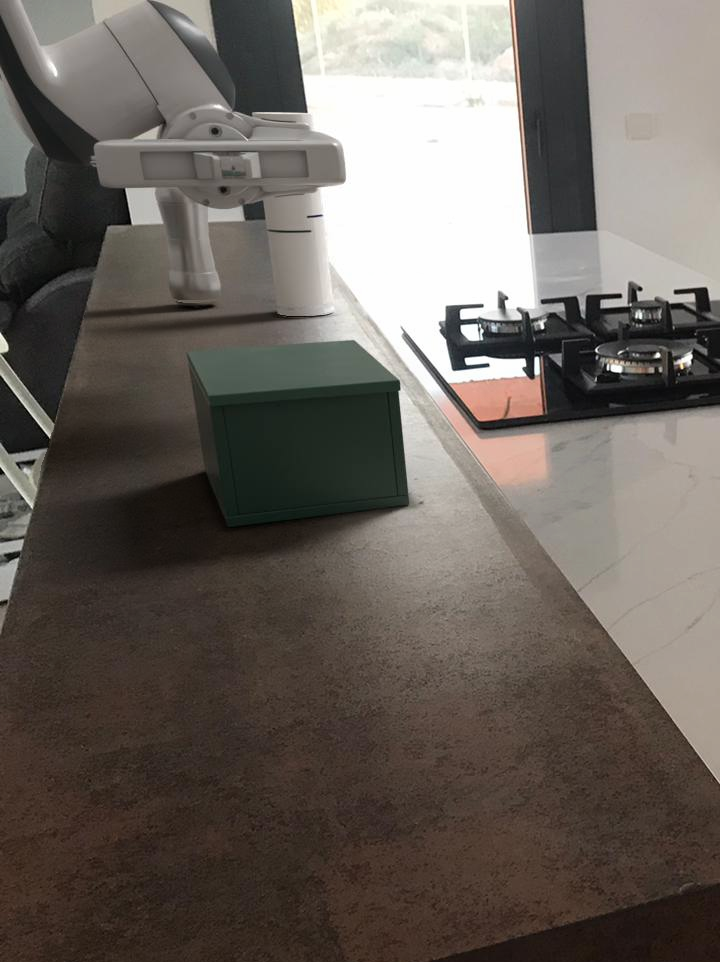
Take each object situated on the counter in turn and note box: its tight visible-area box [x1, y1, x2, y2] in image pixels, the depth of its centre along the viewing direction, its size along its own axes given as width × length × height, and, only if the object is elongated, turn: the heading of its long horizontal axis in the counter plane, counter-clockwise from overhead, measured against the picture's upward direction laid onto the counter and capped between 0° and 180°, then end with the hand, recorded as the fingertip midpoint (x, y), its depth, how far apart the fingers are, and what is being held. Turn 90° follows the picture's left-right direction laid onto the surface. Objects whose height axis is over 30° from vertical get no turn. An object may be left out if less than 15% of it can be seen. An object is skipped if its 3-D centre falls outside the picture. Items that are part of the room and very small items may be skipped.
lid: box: [186, 339, 402, 407], centre depth 95 cm, size 16×13×1 cm
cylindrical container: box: [251, 111, 335, 317], centre depth 167 cm, size 7×7×25 cm
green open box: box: [187, 361, 410, 528], centre depth 97 cm, size 16×13×9 cm
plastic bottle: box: [154, 187, 222, 308], centre depth 170 cm, size 6×7×20 cm
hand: (233, 168), depth 107 cm, fingers closed
